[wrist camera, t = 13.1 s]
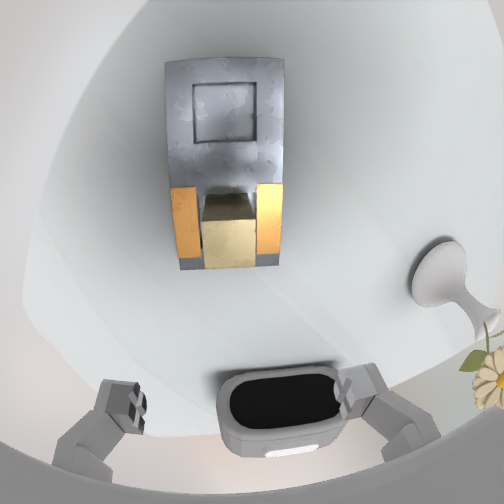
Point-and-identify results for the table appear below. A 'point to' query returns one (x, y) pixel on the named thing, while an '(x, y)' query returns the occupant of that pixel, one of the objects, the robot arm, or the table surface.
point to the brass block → (228, 231)
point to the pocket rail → (225, 146)
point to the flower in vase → (483, 318)
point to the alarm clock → (279, 411)
